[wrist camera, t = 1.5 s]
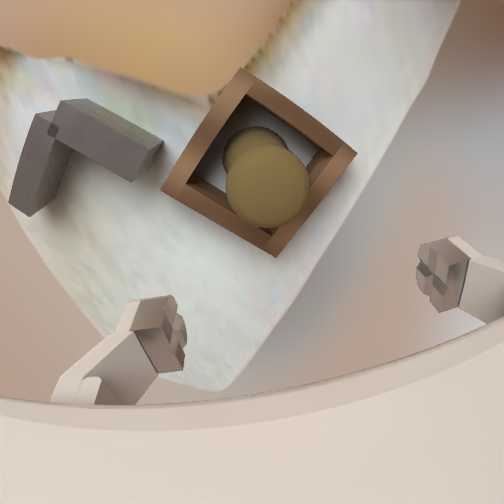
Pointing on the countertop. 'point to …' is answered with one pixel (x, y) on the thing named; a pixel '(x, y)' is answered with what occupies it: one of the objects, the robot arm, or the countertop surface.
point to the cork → (264, 178)
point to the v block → (82, 140)
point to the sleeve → (215, 201)
